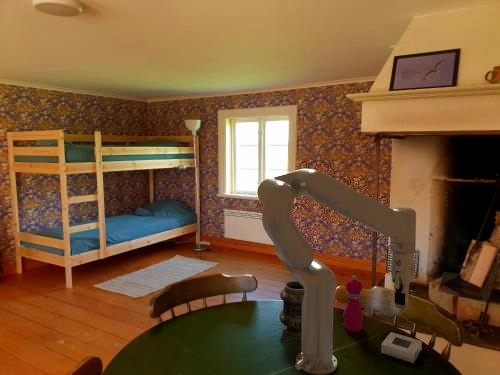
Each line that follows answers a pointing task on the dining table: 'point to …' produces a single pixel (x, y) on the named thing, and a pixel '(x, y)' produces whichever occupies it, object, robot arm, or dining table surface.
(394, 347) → the jig
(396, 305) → the cylinder
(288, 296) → the apothecary jar
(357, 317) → the pepper mill
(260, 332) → the dining table surface
